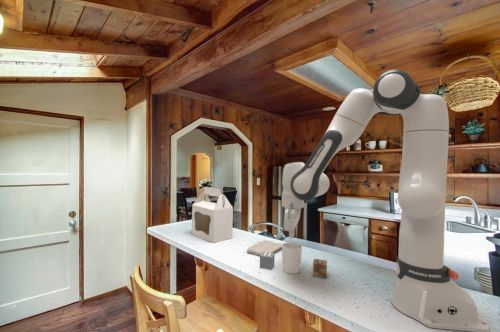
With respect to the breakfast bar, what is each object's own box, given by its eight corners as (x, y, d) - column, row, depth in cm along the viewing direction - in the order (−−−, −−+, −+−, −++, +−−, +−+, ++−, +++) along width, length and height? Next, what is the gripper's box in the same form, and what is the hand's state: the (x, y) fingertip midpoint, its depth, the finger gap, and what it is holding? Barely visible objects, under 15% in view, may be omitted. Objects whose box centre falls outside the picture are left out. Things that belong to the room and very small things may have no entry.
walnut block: (326, 273, 96) (326, 259, 96) (326, 278, 92) (326, 264, 92) (313, 271, 98) (313, 258, 98) (312, 276, 93) (313, 263, 93)
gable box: (232, 238, 138) (233, 188, 137) (213, 243, 128) (214, 190, 128) (209, 230, 154) (210, 185, 153) (191, 234, 144) (192, 186, 144)
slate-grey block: (274, 265, 103) (274, 252, 103) (271, 270, 98) (271, 257, 98) (262, 263, 104) (263, 251, 104) (259, 268, 100) (259, 255, 100)
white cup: (301, 275, 94) (302, 249, 93) (280, 273, 95) (281, 247, 95) (301, 267, 101) (301, 243, 101) (282, 265, 103) (282, 241, 103)
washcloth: (285, 248, 124) (285, 242, 124) (268, 260, 109) (268, 253, 109) (264, 244, 131) (264, 238, 131) (246, 254, 115) (246, 247, 115)
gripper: (297, 207, 87) (296, 245, 87) (303, 199, 107) (302, 231, 107) (280, 205, 89) (279, 243, 89) (288, 198, 108) (287, 229, 109)
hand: (291, 236), depth 98 cm, fingers closed
